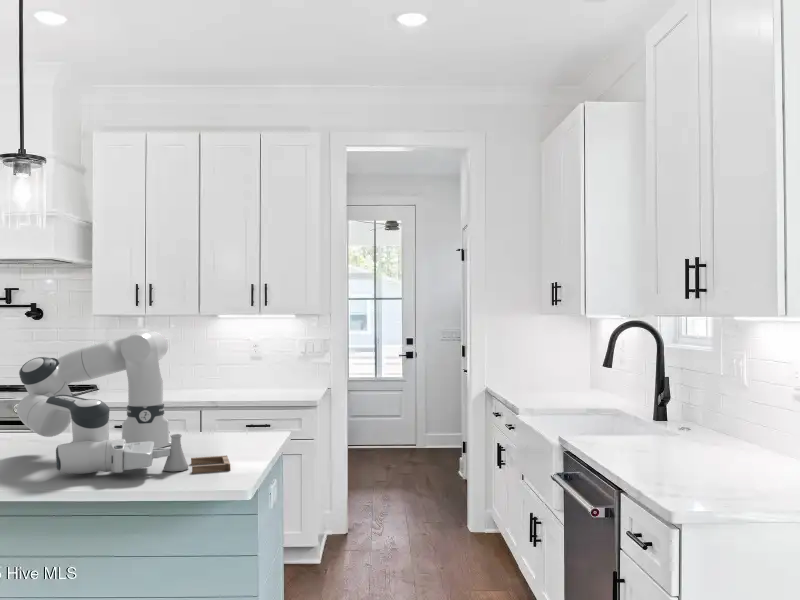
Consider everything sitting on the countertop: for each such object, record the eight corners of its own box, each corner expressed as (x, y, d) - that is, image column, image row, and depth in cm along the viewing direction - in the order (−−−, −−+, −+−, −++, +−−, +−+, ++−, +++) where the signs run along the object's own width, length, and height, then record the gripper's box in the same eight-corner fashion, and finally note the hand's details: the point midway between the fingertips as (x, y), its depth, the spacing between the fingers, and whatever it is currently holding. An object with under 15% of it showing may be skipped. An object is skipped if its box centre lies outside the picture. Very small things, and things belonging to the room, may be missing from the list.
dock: (191, 463, 211) (191, 457, 211) (227, 461, 215) (227, 455, 215) (192, 473, 199) (192, 466, 199) (230, 470, 202) (230, 464, 202)
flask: (184, 472, 200) (184, 437, 200) (159, 472, 200) (159, 437, 200) (192, 466, 207) (192, 432, 208) (167, 466, 208) (167, 432, 208)
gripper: (121, 459, 208) (170, 456, 212) (115, 474, 189) (169, 470, 193) (121, 437, 208) (170, 435, 212) (115, 450, 189) (169, 447, 193)
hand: (170, 452), depth 202 cm, fingers closed
